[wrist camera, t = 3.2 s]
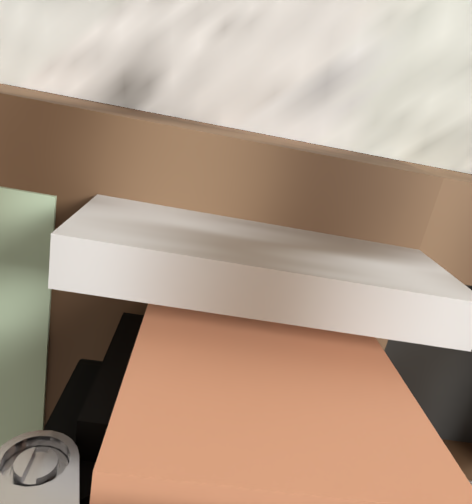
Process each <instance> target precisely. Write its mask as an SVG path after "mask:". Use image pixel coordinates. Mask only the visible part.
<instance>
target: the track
mask: <svg viewBox="0 0 472 504" xmlns="http://www.w3.org/2000/svg"><path fill="white" fill-rule="evenodd" d="M148 304H155V305H162V306H168V307H175V308H182V309H189V310H195V311H202V312H209V313H215V314H222V315H229V316H235V317H242V318H249V319H255V320H262V321H269V322H275V323H282V324H289V325H296V326H302V327H309V328H316V329H322V330H329V331H336V332H342V333H349V334H356V335H362V336H369V337H376V339H377V341H378V342H379V344H380V345H381V347H382V348H383V350H384V351H385V353H386V354H387V356H388V358H389V359H390V361H391V362H392V364H393V365H394V367H395V368H396V370H397V371H398V373H399V374H400V376H401V378H402V379H403V381H404V382H405V384H406V385H407V387H408V388H409V390H410V391H411V393H412V394H413V396H414V398H415V399H416V401H417V402H418V404H419V405H420V407H421V408H422V410H423V411H424V413H425V414H426V416H427V418H428V419H429V421H430V422H431V424H432V425H433V427H434V428H435V430H436V431H437V433H438V434H439V436H440V438H441V439H442V441H443V442H444V444H445V445H446V447H447V448H448V450H449V451H450V453H451V454H452V456H453V458H454V459H455V461H456V462H457V464H458V465H459V467H460V468H461V470H462V471H463V473H464V474H465V476H466V478H467V479H468V480H469V481H472V174H467V173H462V172H456V171H451V170H446V169H441V168H436V167H431V166H425V165H420V164H415V163H410V162H405V161H399V160H394V159H389V158H384V157H379V156H374V155H368V154H363V153H358V152H353V151H348V150H342V149H337V148H332V147H327V146H322V145H316V144H311V143H306V142H301V141H296V140H291V139H285V138H280V137H275V136H270V135H265V134H259V133H254V132H249V131H244V130H239V129H234V128H228V127H223V126H218V125H213V124H208V123H202V122H197V121H192V120H187V119H182V118H177V117H171V116H166V115H161V114H156V113H151V112H145V111H140V110H135V109H130V108H125V107H120V106H114V105H109V104H104V103H99V102H94V101H88V100H83V99H78V98H73V97H68V96H63V95H57V94H52V93H47V92H42V91H37V90H31V89H26V88H21V87H16V86H11V85H5V84H0V447H1V446H2V445H3V444H4V443H6V442H7V441H9V440H10V439H12V438H13V437H16V436H18V435H21V434H23V433H26V432H31V431H37V430H43V429H44V427H45V425H46V423H47V421H48V419H49V417H50V415H51V413H52V412H53V410H54V408H55V406H56V404H57V402H58V400H59V398H60V396H61V394H62V392H63V390H64V388H65V386H66V384H67V383H68V381H69V379H70V377H71V375H72V373H73V371H74V369H75V367H76V365H77V363H78V362H79V360H80V359H89V360H96V361H103V359H104V357H105V354H106V352H107V350H108V347H109V345H110V343H111V340H112V338H113V336H114V333H115V331H116V329H117V326H118V324H119V322H120V319H121V317H122V315H123V313H124V312H125V313H132V314H139V315H145V312H146V308H147V305H148Z"/></svg>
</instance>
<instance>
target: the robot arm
mask: <svg viewBox="0 0 472 504" xmlns="http://www.w3.org/2000/svg"><path fill="white" fill-rule="evenodd" d="M143 318H144V315H139V314H132V313H125V312H124V313H123V315H122V317H121V319H120V322H119V324H118V326H117V329H116V331H115V333H114V336H113V338H112V340H111V343H110V345H109V347H108V350H107V352H106V354H105V357H104V359H103V361H96V360H89V359H80V360H79V362H78V363H77V365H76V367H75V369H74V371H73V373H72V375H71V377H70V379H69V381H68V383H67V384H66V386H65V388H64V390H63V392H62V394H61V396H60V398H59V400H58V402H57V404H56V406H55V408H54V410H53V412H52V413H51V415H50V417H49V419H48V421H47V423H46V425H45V427H44V429H43V430H37V431H31V432H26V433H23V434H21V435H18V436H16V437H13V438H12V439H10V440H9V441H7V442H6V443H4V444H3V445H2V446H1V447H0V504H90V494H91V484H92V475H93V469H94V466H95V463H96V460H97V457H98V454H99V451H100V448H101V445H102V442H103V439H104V436H105V433H106V430H107V427H108V424H109V421H110V418H111V415H112V412H113V409H114V406H115V403H116V400H117V396H118V393H119V390H120V387H121V384H122V381H123V378H124V375H125V372H126V369H127V366H128V363H129V360H130V357H131V354H132V351H133V348H134V345H135V342H136V339H137V336H138V333H139V330H140V327H141V324H142V321H143ZM468 481H469V480H468ZM469 482H470V484H471V485H472V481H469Z"/></svg>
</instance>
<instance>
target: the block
mask: <svg viewBox="0 0 472 504" xmlns="http://www.w3.org/2000/svg"><path fill="white" fill-rule="evenodd" d="M90 504H472V485H471V484H470V482H469V481H468V479H467V478H466V476H465V474H464V473H463V471H462V470H461V468H460V467H459V465H458V464H457V462H456V461H455V459H454V458H453V456H452V454H451V453H450V451H449V450H448V448H447V447H446V445H445V444H444V442H443V441H442V439H441V438H440V436H439V434H438V433H437V431H436V430H435V428H434V427H433V425H432V424H431V422H430V421H429V419H428V418H427V416H426V414H425V413H424V411H423V410H422V408H421V407H420V405H419V404H418V402H417V401H416V399H415V398H414V396H413V394H412V393H411V391H410V390H409V388H408V387H407V385H406V384H405V382H404V381H403V379H402V378H401V376H400V374H399V373H398V371H397V370H396V368H395V367H394V365H393V364H392V362H391V361H390V359H389V358H388V356H387V354H386V353H385V351H384V350H383V348H382V347H381V345H380V344H379V342H378V341H377V339H376V337H369V336H362V335H356V334H349V333H342V332H336V331H329V330H322V329H316V328H309V327H302V326H296V325H289V324H282V323H275V322H269V321H262V320H255V319H249V318H242V317H235V316H229V315H222V314H215V313H209V312H202V311H195V310H189V309H182V308H175V307H168V306H162V305H155V304H148V305H147V308H146V312H145V315H144V318H143V321H142V324H141V327H140V330H139V333H138V336H137V339H136V342H135V345H134V348H133V351H132V354H131V357H130V360H129V363H128V366H127V369H126V372H125V375H124V378H123V381H122V384H121V387H120V390H119V393H118V396H117V400H116V403H115V406H114V409H113V412H112V415H111V418H110V421H109V424H108V427H107V430H106V433H105V436H104V439H103V442H102V445H101V448H100V451H99V454H98V457H97V460H96V463H95V466H94V469H93V475H92V484H91V494H90Z"/></svg>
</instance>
